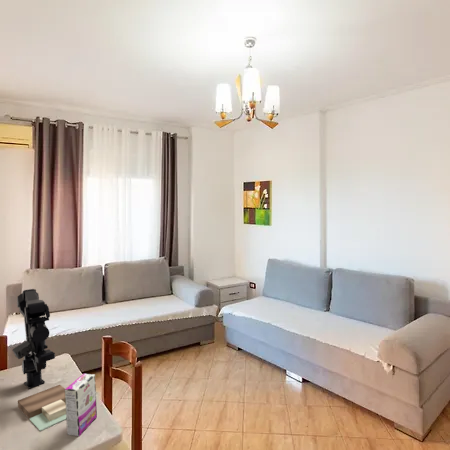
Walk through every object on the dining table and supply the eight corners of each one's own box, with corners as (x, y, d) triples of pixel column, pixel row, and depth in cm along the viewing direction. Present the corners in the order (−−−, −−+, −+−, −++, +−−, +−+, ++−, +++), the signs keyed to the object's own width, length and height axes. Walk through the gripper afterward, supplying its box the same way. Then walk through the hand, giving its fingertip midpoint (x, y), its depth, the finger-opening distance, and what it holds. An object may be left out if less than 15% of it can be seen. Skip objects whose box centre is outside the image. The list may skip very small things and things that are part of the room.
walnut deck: (17, 406, 136) (17, 400, 136) (59, 390, 148) (59, 384, 148) (29, 419, 128) (29, 412, 128) (72, 400, 140) (72, 394, 140)
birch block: (42, 413, 131) (41, 407, 131) (61, 405, 136) (60, 399, 136) (49, 421, 126) (49, 414, 126) (69, 412, 131) (69, 406, 131)
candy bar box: (85, 415, 130) (83, 372, 129) (97, 417, 129) (96, 374, 128) (65, 435, 119) (63, 388, 118) (78, 437, 118) (77, 390, 117)
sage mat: (29, 419, 128) (29, 418, 128) (72, 400, 140) (72, 399, 140) (40, 431, 121) (40, 430, 121) (85, 410, 133) (84, 409, 133)
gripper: (6, 333, 140) (8, 371, 141) (23, 346, 128) (25, 387, 129) (36, 326, 149) (37, 362, 150) (54, 337, 136) (56, 376, 137)
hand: (38, 371), depth 141 cm, fingers closed
